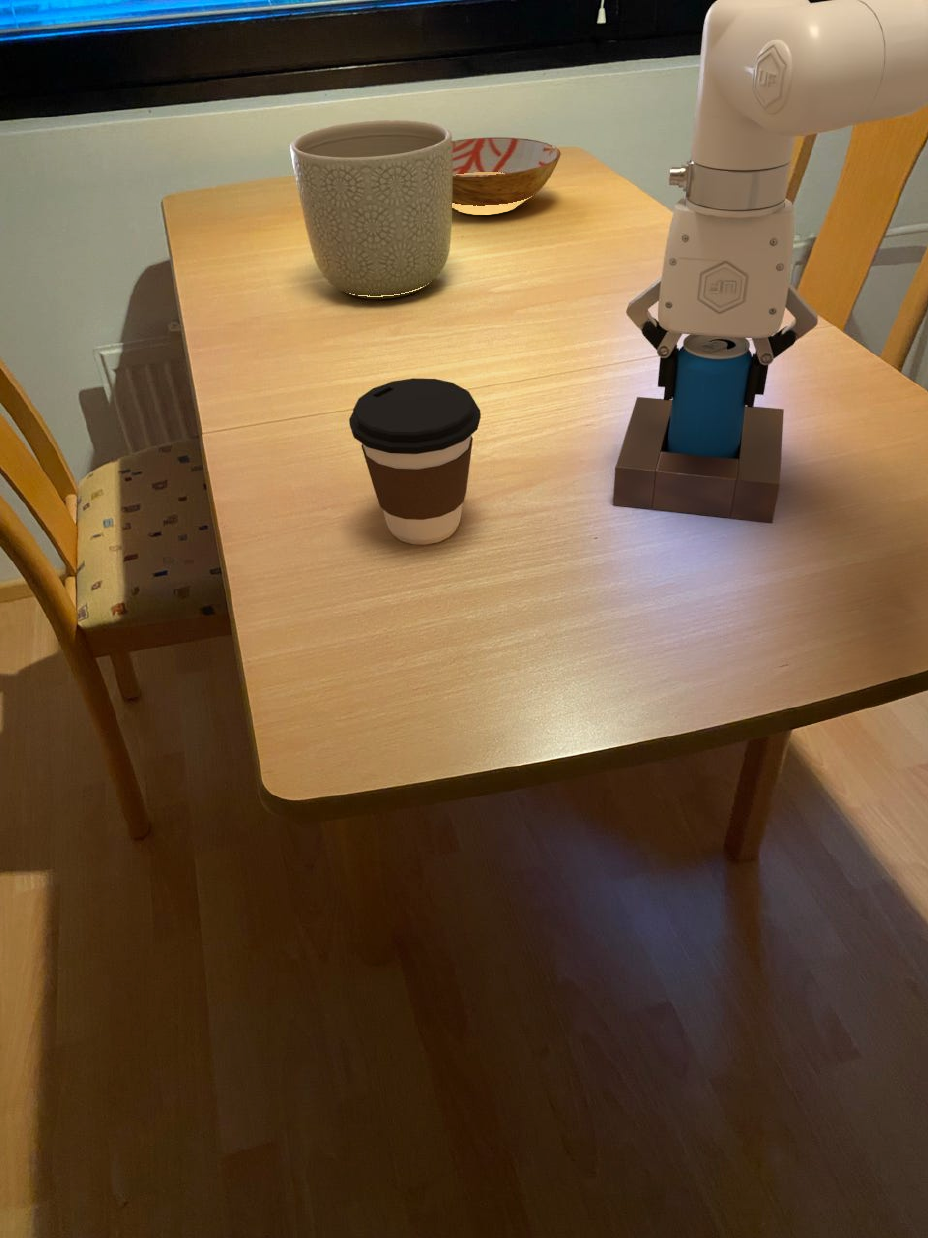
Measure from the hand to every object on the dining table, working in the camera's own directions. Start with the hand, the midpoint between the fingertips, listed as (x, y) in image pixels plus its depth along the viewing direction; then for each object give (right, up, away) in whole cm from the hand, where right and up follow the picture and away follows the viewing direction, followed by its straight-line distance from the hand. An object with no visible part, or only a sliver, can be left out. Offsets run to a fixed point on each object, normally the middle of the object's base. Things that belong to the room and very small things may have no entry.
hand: (709, 395), depth 83 cm
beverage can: (0, -6, +5) cm, 7 cm away
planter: (-33, +27, +48) cm, 65 cm away
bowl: (-18, +51, +76) cm, 93 cm away
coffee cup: (-26, -12, +1) cm, 28 cm away
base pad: (0, -6, +5) cm, 8 cm away
